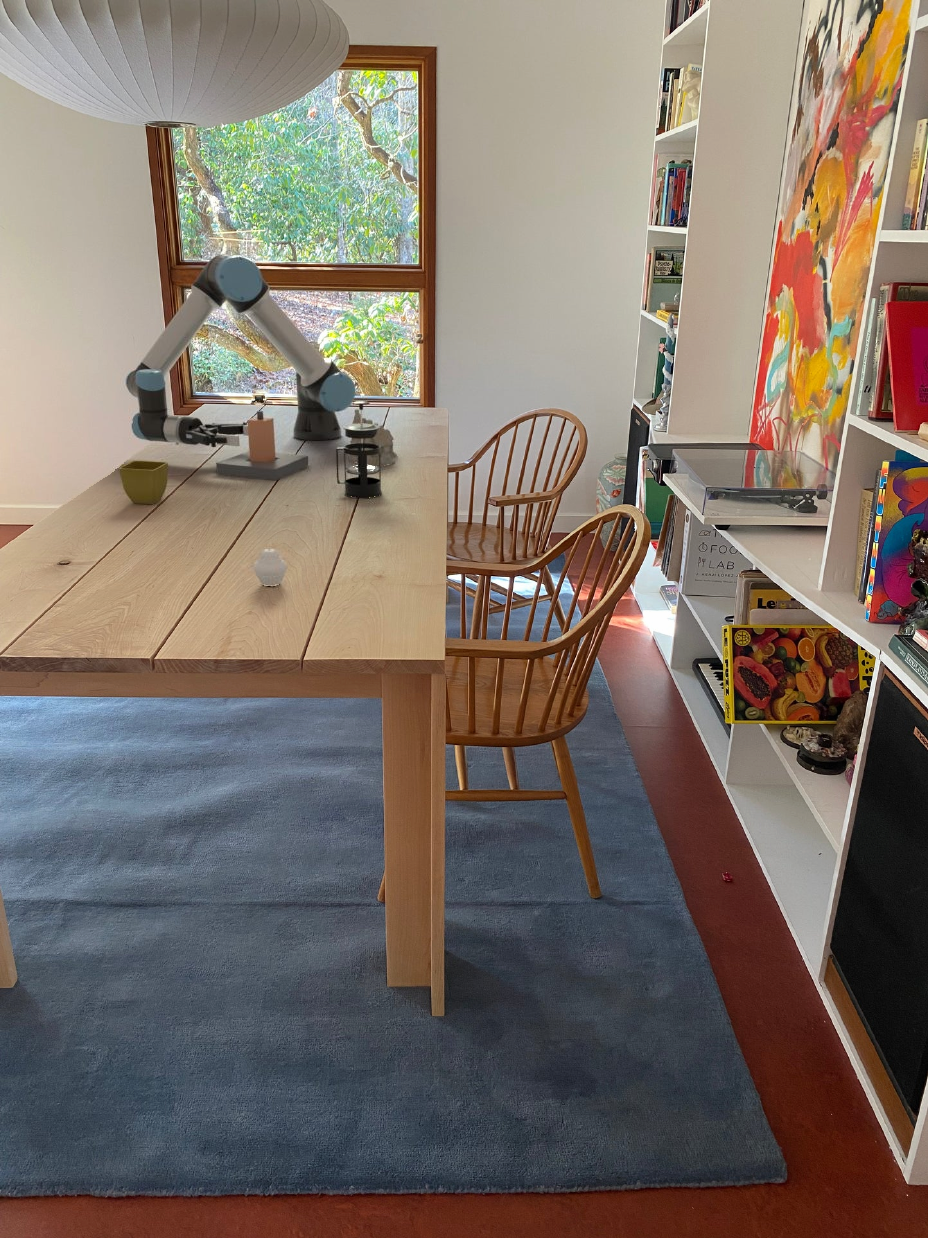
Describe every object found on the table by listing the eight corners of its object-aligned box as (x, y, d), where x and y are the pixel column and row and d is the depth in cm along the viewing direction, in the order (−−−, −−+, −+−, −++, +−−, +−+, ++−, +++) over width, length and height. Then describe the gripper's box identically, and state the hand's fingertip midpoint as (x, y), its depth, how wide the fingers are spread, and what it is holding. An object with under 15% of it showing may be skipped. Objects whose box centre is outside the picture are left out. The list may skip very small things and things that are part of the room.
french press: (382, 488, 242) (381, 398, 233) (386, 498, 233) (384, 404, 225) (336, 489, 240) (333, 398, 232) (338, 499, 232) (335, 404, 223)
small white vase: (286, 590, 172) (284, 553, 170) (252, 590, 172) (249, 553, 169) (289, 578, 178) (287, 543, 175) (256, 578, 177) (254, 543, 175)
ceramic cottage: (369, 467, 263) (369, 413, 258) (338, 459, 275) (339, 406, 270) (414, 464, 272) (416, 411, 268) (383, 456, 284) (384, 405, 280)
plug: (260, 467, 262) (256, 409, 255) (276, 469, 260) (272, 410, 254) (250, 471, 257) (246, 412, 251) (266, 472, 256) (263, 413, 250)
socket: (252, 460, 269) (251, 450, 268) (308, 466, 264) (308, 455, 263) (217, 474, 253) (216, 462, 252) (276, 480, 248) (275, 469, 247)
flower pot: (172, 497, 230) (168, 461, 227) (158, 507, 222) (154, 469, 219) (137, 496, 231) (133, 460, 227) (122, 505, 223) (117, 468, 219)
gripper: (211, 435, 274) (275, 441, 268) (159, 452, 252) (228, 459, 246) (208, 409, 271) (274, 415, 265) (156, 424, 250) (225, 430, 243)
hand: (252, 436), depth 256 cm, fingers open, 13 cm apart
